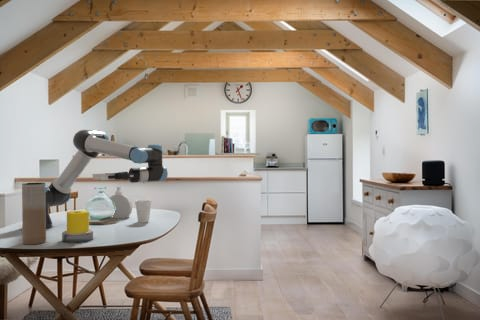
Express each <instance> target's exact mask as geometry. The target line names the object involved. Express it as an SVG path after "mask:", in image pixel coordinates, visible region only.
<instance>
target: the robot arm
mask: <svg viewBox="0 0 480 320" xmlns="http://www.w3.org/2000/svg"><path fill="white" fill-rule="evenodd" d="M72 144H73V145H74V147H75V148H76V149H77V152H76V153H75V154H74V156H73V157H72V158H71V160H70V161H69V162H68V164H67V166H66V167H65V168H64V170H63V171H62V173H61V174H60V175H59V177H58V178H57V179H55V178H54V179H53V180H52V181H51V183H50V184H49V185H48V184H45V198H46V230H47V229H51V228H52V227H53V221H52V218H51V216H50V213H49V209H50V207H57V206H62V205H65V204H67V203H68V202H69V201H70V199H71V193H72V188H71V187H72V186H73V185H74V184H75V182H76V180H78V178H79V177H80V176H81V174H82V173H83V171H84V170H85V168H86V167H87V166H88V165H89V163H90V161H91V160H92V159H96V158H97V157H98V156H99V154H103V155H106V156H111V157H115V158H119V159H123V160H128V161H131V162H133V163H134V164H139V165H140V164H147V167H145V166H144V167H130V168H129V170H128V171H120V172H113V173H109V172H108V173H93V174H92V180H100V181H113V180H118V181H119V180H124V181H125V180H126V181H127V180H129V182H130V183H143V184H145V183H149V182H151V183H152V182H162V181H166V180H167V178H168V174H169V172H168V168H167V167H165V166H163V148H162V147H163V146H162V145H161V144H148V145H147V148H145V147H138V146H134V145H132V144H131V145H130V144H126V143H123V142H117V141H115V140H110V139H109V136H108V135H107V133H106V132H104V131H102V130H91V129H82V130H78V131H77V132H76V133H75V134H74V135H73V139H72ZM21 227H22V230H23V224H22V225H21Z"/></svg>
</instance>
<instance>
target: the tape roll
mask: <svg viewBox="0 0 480 320" xmlns="http://www.w3.org/2000/svg"><path fill="white" fill-rule="evenodd" d="M89 230H90V211H89V210H71V211H67V212H66V231H67V233H72V234H77V233H86V232H89Z"/></svg>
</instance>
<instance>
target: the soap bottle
mask: <svg viewBox="0 0 480 320" xmlns="http://www.w3.org/2000/svg"><path fill="white" fill-rule="evenodd" d="M109 198H110V199H111V200H112V201H113V202H114V203H115V206H116V210H115V213H114V215H113V217H118V218H117V219H127V218H129V217H130V216H131V214H132V213H133V212H132V211H133V203H132V200H131V199H130V198H129V196H128V195H126V194H123V191H122V190H121V185H118V186H116V191H115V192H114V194H113V195H111V196H110V197H109Z"/></svg>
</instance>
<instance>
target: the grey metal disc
mask: <svg viewBox="0 0 480 320" xmlns="http://www.w3.org/2000/svg"><path fill="white" fill-rule="evenodd" d="M93 240H94V231H93V230H92V229H89V232H86V233H77V234H72V233H67V230H64V231H63V232H62V233H61V241H62V243H67V244H68V243H69V244H79V243H87V242H91V241H93Z"/></svg>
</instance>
